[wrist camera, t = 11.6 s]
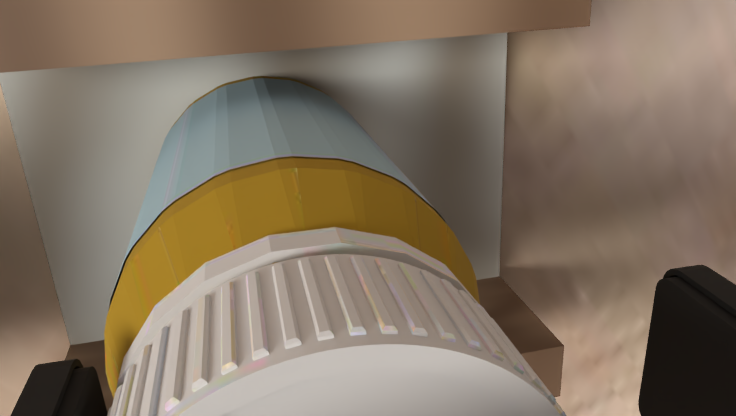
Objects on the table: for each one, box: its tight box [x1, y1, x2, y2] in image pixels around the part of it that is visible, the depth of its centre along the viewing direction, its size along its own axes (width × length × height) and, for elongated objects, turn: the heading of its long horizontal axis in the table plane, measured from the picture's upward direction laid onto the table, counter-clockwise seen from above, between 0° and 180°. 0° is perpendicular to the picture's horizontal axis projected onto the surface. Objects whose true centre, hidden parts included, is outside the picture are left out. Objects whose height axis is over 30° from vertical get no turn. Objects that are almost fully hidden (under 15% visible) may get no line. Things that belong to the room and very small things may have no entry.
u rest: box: [0, 0, 592, 412], centre depth 19 cm, size 16×14×6 cm
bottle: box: [104, 76, 566, 416], centre depth 14 cm, size 7×7×15 cm
